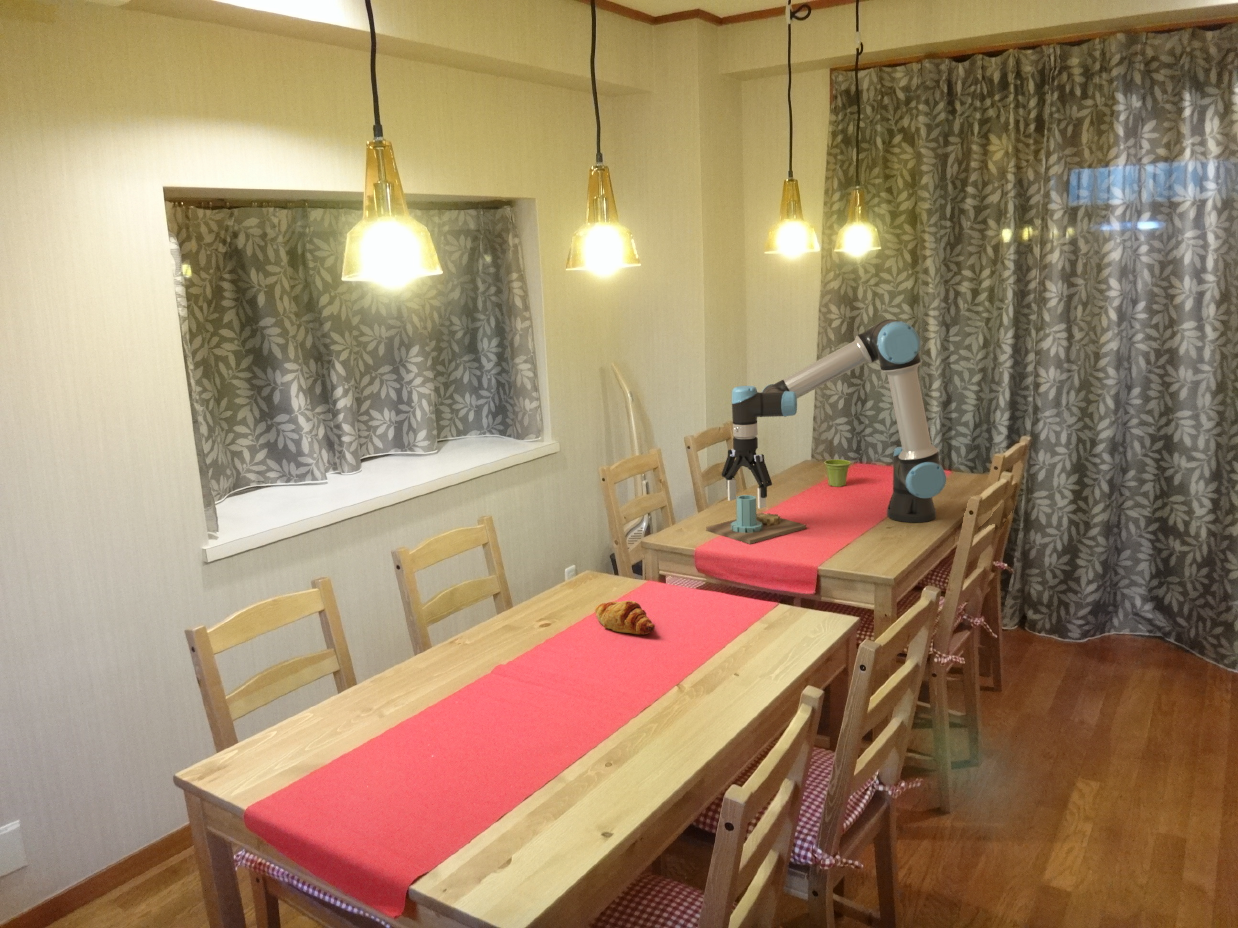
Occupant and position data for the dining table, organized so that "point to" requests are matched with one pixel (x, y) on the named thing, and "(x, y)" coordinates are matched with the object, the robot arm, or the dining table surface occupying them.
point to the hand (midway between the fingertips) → (746, 503)
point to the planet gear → (746, 515)
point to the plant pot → (837, 472)
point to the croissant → (624, 617)
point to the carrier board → (770, 529)
